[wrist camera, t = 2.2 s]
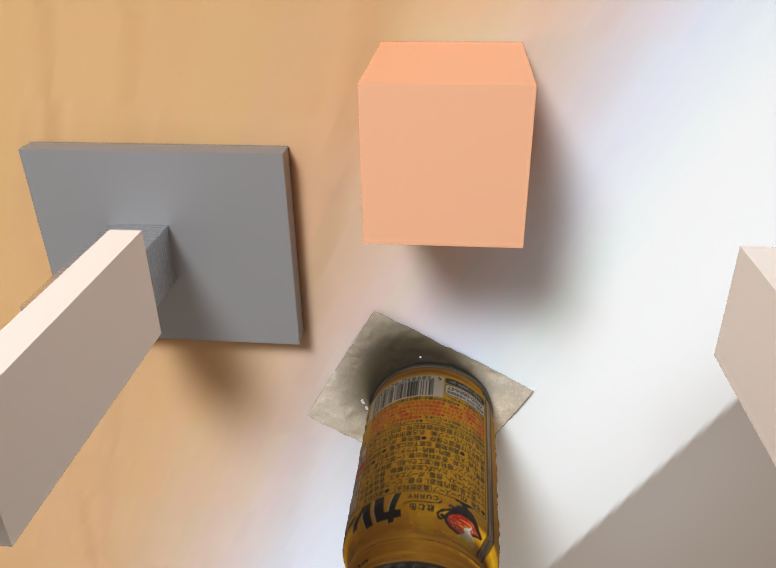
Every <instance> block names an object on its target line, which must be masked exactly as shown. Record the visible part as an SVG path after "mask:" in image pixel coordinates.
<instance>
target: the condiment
mask: <svg viewBox="0 0 776 568" xmlns="http://www.w3.org/2000/svg"><path fill="white" fill-rule="evenodd" d="M419 356H422V358H419ZM532 392H533V391H532V390H530V389H528V388H526V387H524V386H523V385H521V384H519V383H517V382H515V381H513V380H511V379H510V378H508V377H506V376H504V375H502V374H501V373H499V372H496V371H493V370H492V369H490V368H489V367H487V366H485V365H483V364H481V363H479V362H478V361H476V360H473V359H470V358H469V357H468V356H466V355H463V354H461V353H459V352H456V351H455V350H453V349H451V348H448V347H445V346H443V345H441V344H439V343H437V342H435V341H434V340H432V339H430V338H428V337H426V336H424V335H422V334H421V333H419V332H417V331H415V330H413V329H411V328H409V327H407V326H405V325H402V324H400V323H397V322H395V321H393V320H391V319H389V318H388V317H386V316H384V315H382V314H380V313H378V312H376V311H374V312H373V314H372V315H371V317H370V318H369V320H368V321H367V323H366V324H365V325H364V327H363V329H362V330H361V332H360V333H359V335H358V336H357V338H356V339H355V341H354V343H353V344H352V346H351V347H350V348H349V350H348V352H347V353H346V355H345V356H344V358H343V360H342V361H341V363H340V364H339V366H338V368H337V369H336V370H335V372H334V373H333V375H332V377H331V378H330V380H329V382H328V384H327V385H326V387H325V388H324V390H323V391H322V393H321V394H320V396H319V397H318V399H317V401H316V402H315V404H314V406H313V407H312V409H311V410H310V412H309V413H308V416H309V417H311V418H313V419H316V420H317V421H319V422H320V423H323V424H325V425H327V426H330V427H333V428H334V429H336V430H338V431H339V432H341V433H343V434H346V435H349V436H351V437H353V438H355V439H357V440H358V441H360V442H362V447H361V450H360V457H359V464H358V470H357V475H356V480H355V485H354V490H353V496H352V500H351V504H350V511H349V515H348V521H347V527H346V531H345V538H344V544H343V559H344V563H345V567H346V568H499V553H500V552H499V551H500V545H499V536H500V532H499V520H498V511H497V506H498V503H497V498H498V494H497V466H496V452H495V437H496V433H497V432H498V431H499V430H500V429H501V427H502V426H503V425H504V424H505V423H506V422H507V420H508V419H509V418H510V417H511V416H512V415H513V414H514V413H515V412H516V411H517V410H518V408H519V407H520V406H521V405H522V404H523V403H524V401H525V400H526V399H527V398H528V397H529V395H530V394H531V393H532ZM361 399H363V400H364V402H365V404H362V403H361V401H360V400H361ZM365 406H368V410H365Z"/></svg>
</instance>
